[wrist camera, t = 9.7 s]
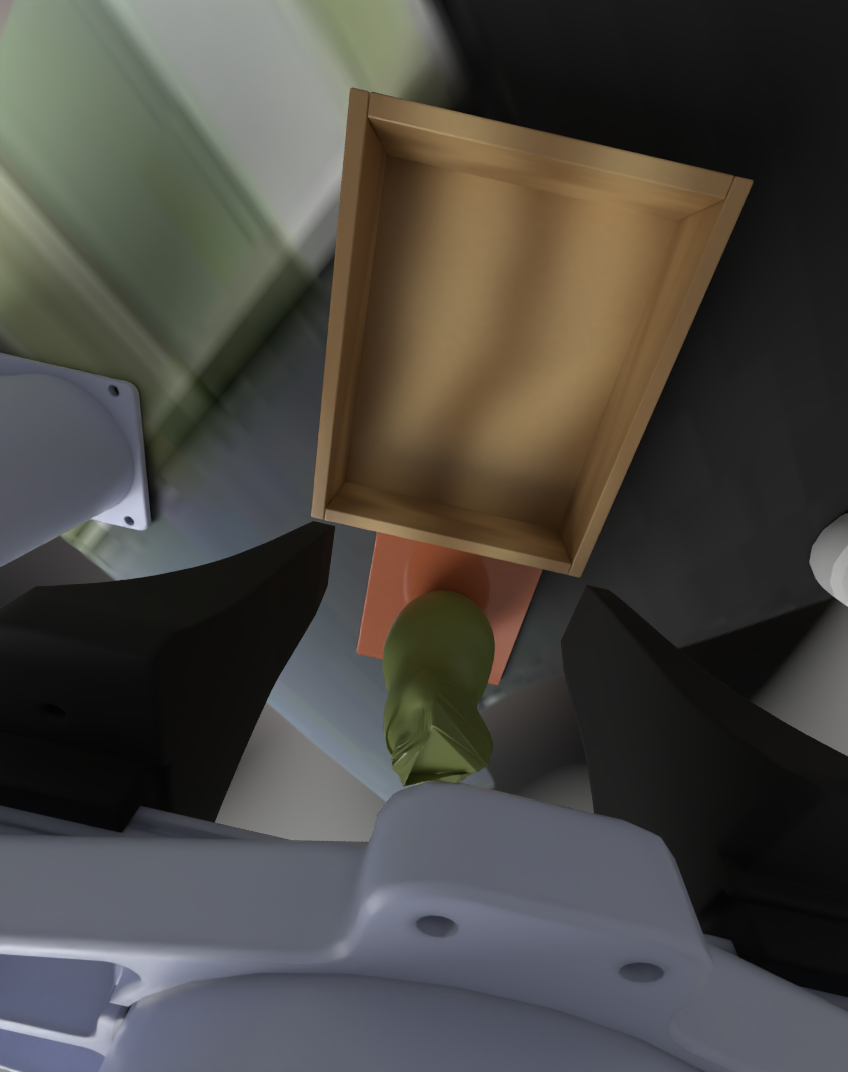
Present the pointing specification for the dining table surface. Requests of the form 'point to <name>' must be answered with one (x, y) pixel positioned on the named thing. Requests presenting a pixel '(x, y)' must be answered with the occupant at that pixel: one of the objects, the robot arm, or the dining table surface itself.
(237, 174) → the dining table surface
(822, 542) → the bottle
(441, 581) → the coaster
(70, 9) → the dining table surface
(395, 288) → the wooden shallow box
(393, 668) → the pear
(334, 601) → the dining table surface
